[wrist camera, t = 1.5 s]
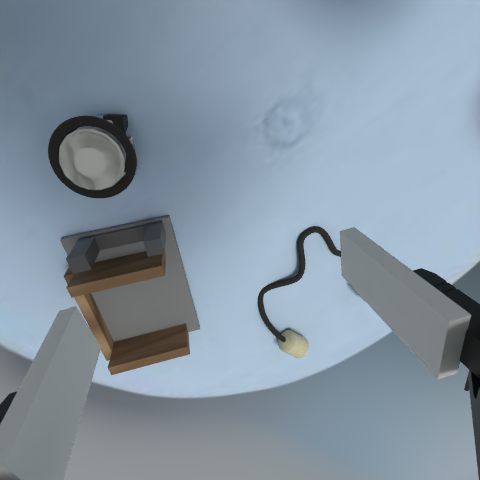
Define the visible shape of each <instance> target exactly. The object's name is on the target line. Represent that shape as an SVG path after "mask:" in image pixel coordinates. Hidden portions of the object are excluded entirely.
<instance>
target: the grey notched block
mask: <svg viewBox="0 0 480 480" xmlns="http://www.w3.org/2000/svg"><path fill="white" fill-rule="evenodd" d="M141 241H143V243H144V246H145V249H146V252H147V255H148V257H149V256H154V255H158V254H163V253H165V243H166V233H165V229H164V226H163V222H162V220H161V221H156V222H152V223H147V224H142V225H138V226H133V227H128V228H123V229H119V230H114V231H109V232H104V233H100V234H95V235H90V236H85V237H81V238H79V239H78V241H77V242H76V244H75V245H74V247H73V249H72V250H71V252H70V253H69V255H68V256H67V258H66V260H67V262H68V264H69V266H70V268H71V270H72V272H73V274H74V273H78V272H83V271H87V270H91V269H92V267H93V265H94V262H95V260H96V258H97V256H98V254H99V252H100V250H104V249H109V248H114V247H118V246H123V245H127V244H132V243H137V242H141Z"/></svg>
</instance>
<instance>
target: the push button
mask: <svg viewBox="0 0 480 480" xmlns="http://www.w3.org/2000/svg"><path fill="white" fill-rule="evenodd" d="M83 126H92V127H93V128H90V129H79V130H76V129H77V128H79V127H83ZM127 127H128V120H127V115H117V114H100V115H97V116H96V117H94V116H79V117H74V118H71V119H69V120H66V121H65V122H63V123H62V124H60V125H59V126H58V127H57V128H56V129H55V131H54V132H53V134H52V136H51V138H50V142H49V147H48V154H49V160H50V163H51V166H52V168H53V170H54V172H55V174H56V175H57V177H58V178H59V179H60V180H61V181H62V183H64V184H65V185H66V186H67V187H68V188H70V189H71V190H73V191H74V192H76V193H78V194H81V195H83V196H86V197H91V198H108V197H112V196H115V195H117V194H119V193H121V192H122V191H123V190H125V189H126V188H127V187H128V186H129V184H130V183H131V181H132V180H133V178H134V175H135V172H136V167H137V159H136V153H135V150H134V147H133V139H132V136H131V137H130V138H128V137H127V136H126V130H127ZM75 130H76V131H75ZM73 131H74V132H73Z"/></svg>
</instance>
